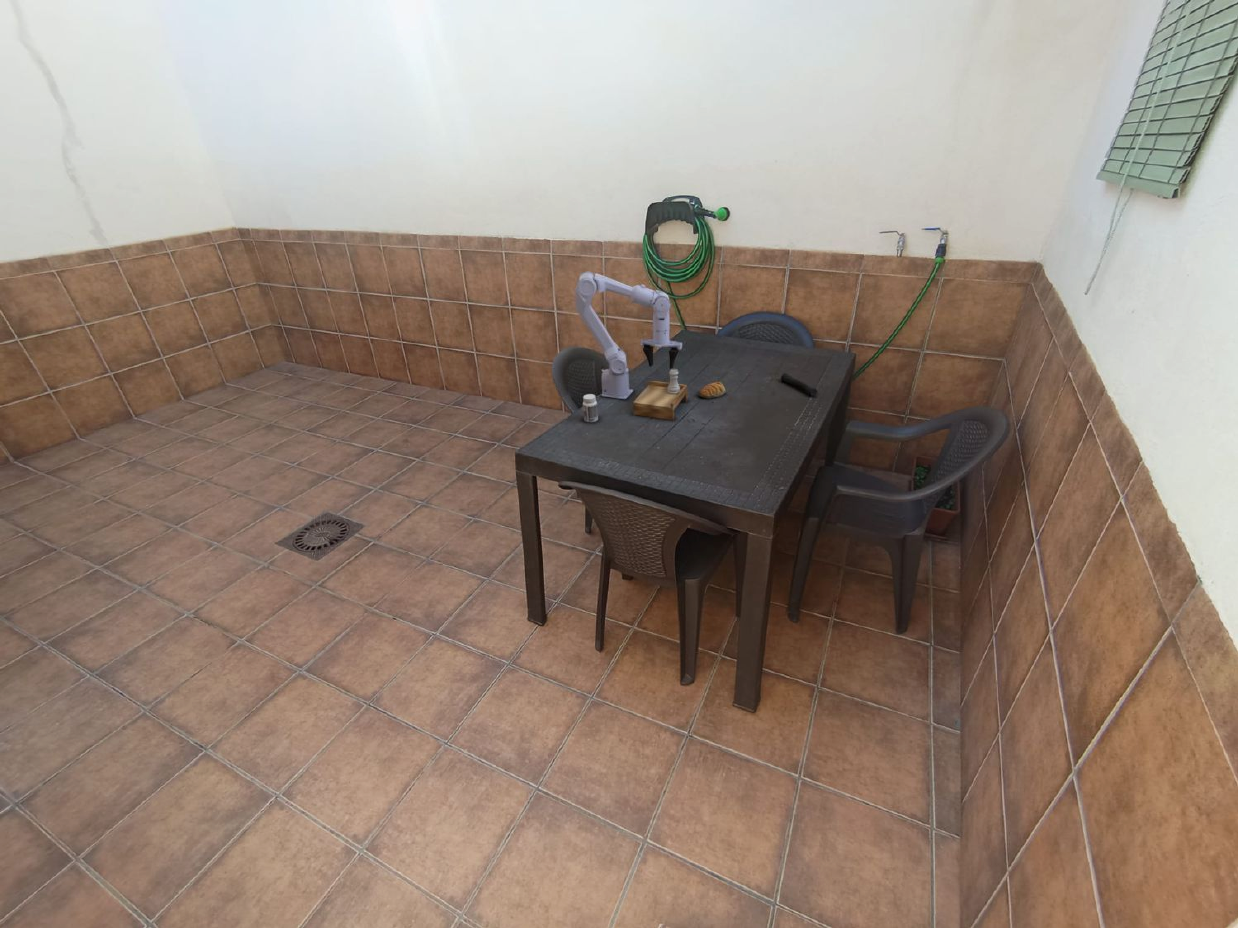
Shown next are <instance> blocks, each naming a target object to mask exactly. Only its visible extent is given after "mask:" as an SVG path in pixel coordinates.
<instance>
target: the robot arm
mask: <svg viewBox="0 0 1238 928" xmlns="http://www.w3.org/2000/svg"><path fill="white" fill-rule="evenodd" d="M607 291H608V292H611V293H615V294H618V295H622V296H625V297H627V298H630V301H631V302H632V303H634V304H637V305H640V306H642V307H645V308H648V309H653V315H652V338H642V339H641V340H640V346H641V347H643V348H642V352H643V354H644V355H645V357H646V360H647V363H648V367H650V368H651V367H653V365H654V348H665V349H669V350H668V356H669V357H668V358H669V369H670V370H671V369H674V365H675V361H676V358H677V355H678V354H679V351H681V350H682V349H683V342H680V341H675V340H670V332H671V331H670V330H671V329H670V328H671V327H670V326H671V325H670V324H671V323H670V322H671V321H670V320H671V319H670V309H671V307H672V304H671V301H670V297H669V295H668V294H667V293H666V292H664V291H663V290H658V289H655V290H653V289H651V288H648V287H646V285H645V284H643V283H642V284H640V285H639V284H637V285H634V286H631V285H628V284H625V283H623V282H621V281H617V280H616V279H613V278H610V277H607V276H605V275H603V274H600V273H596V272H595V273H593V272H592V271H584V272H581V274H580V275H579V277H578V280H577V283H576V287H575V290H574V298H575V299H574V308H575V310H576V312H577V313H578V315H579V316H580V318H581V319H582V322H584V323H583V324H584V325H585V326H586V328H587V329H588V331H589V332H590V333H591V335H592V336H593V338H594V339H595V341H596V342H597V344H598V346H599V347H600V349H601V350H602V352H603V354H604V357H605V360H606V361H607V363H608V368H605V369H604V370H603V371H602V374H601V393H602V394H601V397H605V398H613V399H617V400H619V399H620V400H626V399H627V398H628V397H630V395H631V394H632V393H633V392H634V389H630V373H629V372H630V371H629V368H628V363H627V361H628V356H627V353H626V351H624V350H623V349H621V348H620V347H619V345H618V344H617V343H616V342H615V341H614V340H613V338H612V337H611V335H610V333H609V332H608V330H607V328H606V327H605V325H604V324H603V322H602V321H601V319H600V318H599V316H598V314H597V313H596V311H595V310H594V308H593V306H592V305H591V303H592V300H593V299H592V298H593V297H594V296H595V294H596V292H597V294H601V293H604V292H607Z"/></svg>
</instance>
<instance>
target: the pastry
mask: <svg viewBox="0 0 1238 928" xmlns="http://www.w3.org/2000/svg"><path fill="white" fill-rule="evenodd" d="M725 393H726V388H725V387H724V384H723V383H722V382H720V381H714V382H711V383H708V384H706V385H705V386H704V387H703V388H702V389H701V390H700V391H699V396H700V397H701V398H705V399H712V398H713V399H714V398H719V397H720V396H723V395H724V394H725Z"/></svg>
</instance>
